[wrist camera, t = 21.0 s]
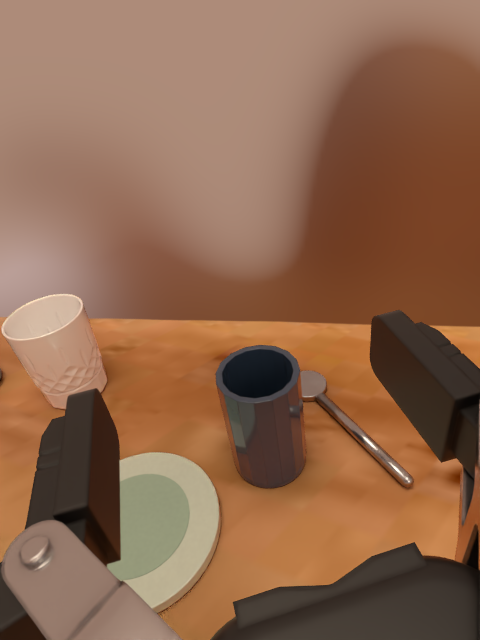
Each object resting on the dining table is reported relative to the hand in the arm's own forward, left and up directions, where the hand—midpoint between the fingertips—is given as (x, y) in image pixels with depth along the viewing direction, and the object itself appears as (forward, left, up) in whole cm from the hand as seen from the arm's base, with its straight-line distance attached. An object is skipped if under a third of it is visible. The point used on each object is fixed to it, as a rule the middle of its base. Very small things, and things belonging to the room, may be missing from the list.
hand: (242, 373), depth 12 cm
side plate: (-6, +13, -23) cm, 27 cm away
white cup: (-7, +33, -23) cm, 41 cm away
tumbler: (+6, +13, -23) cm, 27 cm away
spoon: (+14, +12, -23) cm, 30 cm away
